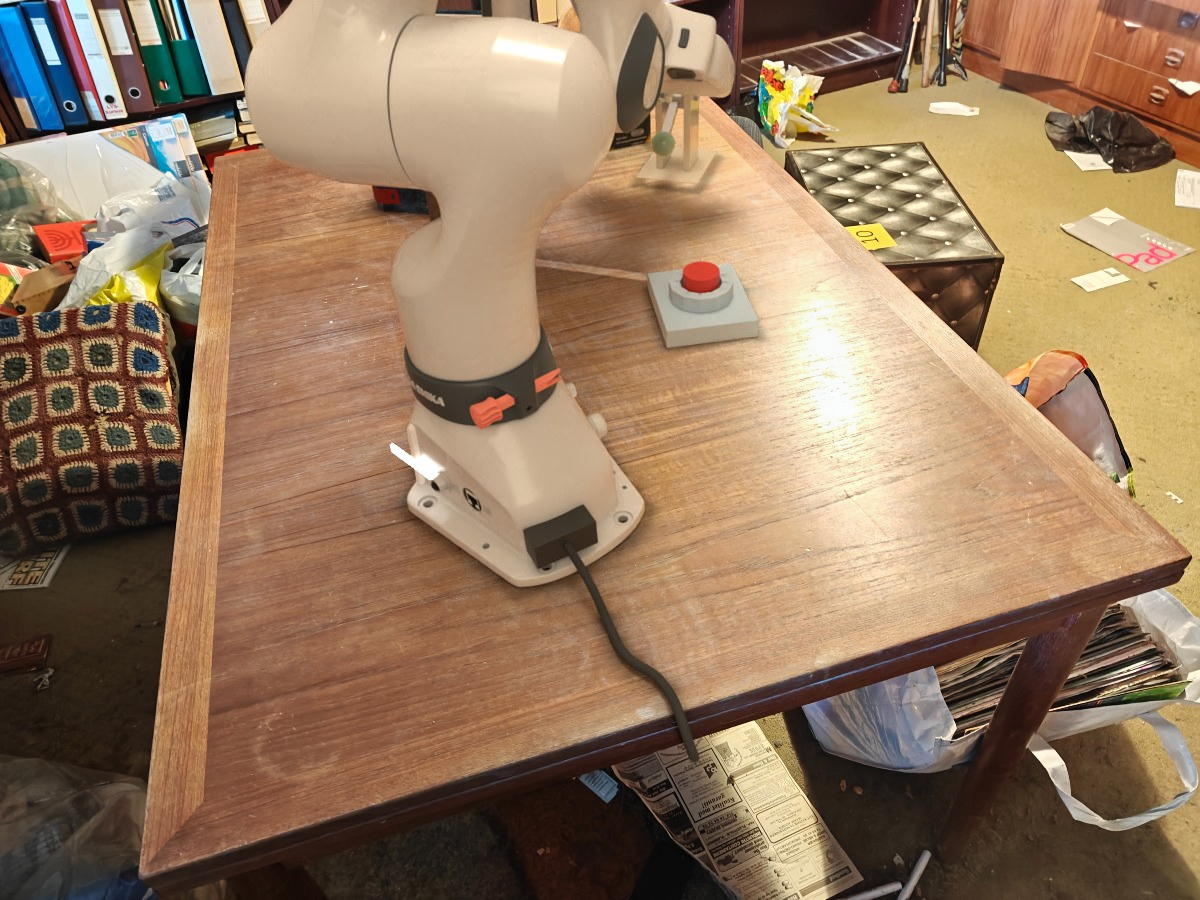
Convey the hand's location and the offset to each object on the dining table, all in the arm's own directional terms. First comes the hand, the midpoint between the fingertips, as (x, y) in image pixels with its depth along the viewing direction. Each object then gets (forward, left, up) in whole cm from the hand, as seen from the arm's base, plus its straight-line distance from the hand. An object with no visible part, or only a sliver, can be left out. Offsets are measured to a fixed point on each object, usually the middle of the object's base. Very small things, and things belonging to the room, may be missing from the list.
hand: (662, 97), depth 110 cm
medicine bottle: (+17, -6, -13) cm, 22 cm away
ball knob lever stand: (+4, -6, -13) cm, 15 cm away
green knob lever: (+2, -4, -6) cm, 7 cm away
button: (-25, +16, -10) cm, 31 cm away
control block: (-25, +16, -13) cm, 33 cm away
